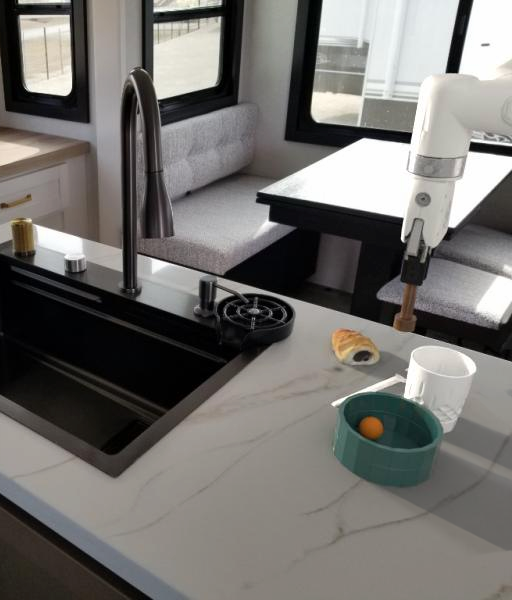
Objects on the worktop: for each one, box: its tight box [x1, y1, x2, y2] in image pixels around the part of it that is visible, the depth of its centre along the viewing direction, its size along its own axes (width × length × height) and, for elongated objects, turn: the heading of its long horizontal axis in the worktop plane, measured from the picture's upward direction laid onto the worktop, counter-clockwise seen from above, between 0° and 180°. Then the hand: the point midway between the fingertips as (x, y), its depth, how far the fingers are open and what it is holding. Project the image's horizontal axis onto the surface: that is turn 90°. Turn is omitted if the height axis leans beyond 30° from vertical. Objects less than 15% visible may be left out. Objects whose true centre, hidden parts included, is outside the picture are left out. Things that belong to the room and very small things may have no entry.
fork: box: [331, 367, 409, 408], centre depth 96 cm, size 3×20×2 cm, turn 118°
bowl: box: [331, 391, 444, 488], centre depth 81 cm, size 12×12×6 cm
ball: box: [359, 417, 383, 440], centre depth 85 cm, size 3×3×3 cm
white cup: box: [403, 345, 477, 434], centre depth 87 cm, size 8×8×10 cm
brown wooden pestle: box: [392, 247, 423, 333], centre depth 101 cm, size 3×3×14 cm
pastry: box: [331, 328, 381, 366], centre depth 105 cm, size 9×7×4 cm
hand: (413, 279), depth 100 cm, fingers closed on brown wooden pestle
